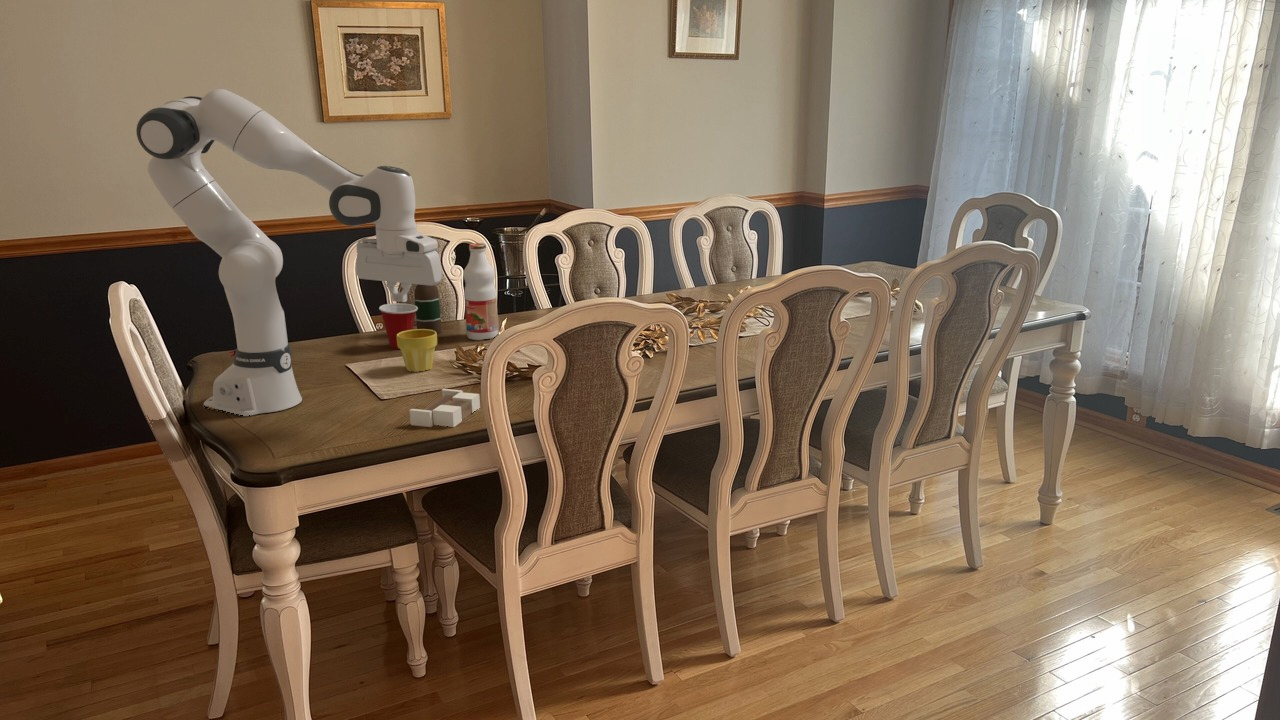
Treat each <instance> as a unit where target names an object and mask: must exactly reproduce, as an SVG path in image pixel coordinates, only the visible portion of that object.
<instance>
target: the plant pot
mask: <svg viewBox="0 0 1280 720" xmlns="http://www.w3.org/2000/svg"><path fill="white" fill-rule="evenodd" d="M397 345H398V348H400V349H399V350H400V352H401V355H402V359H403V362H404V366H405V369H406V370H407V371H408V372H411V371H414V372H413V373H420V372H419V371H423V372H426V371H425V370H428V369H430V370H432V368H433V362H434V355H435V348H436V346H438V334H437V333H436V331H434V330H429V329H417V328H415V329H414V328H413V330H407V331H403V332H400V333H398V334H397ZM428 371H429V370H428Z"/></svg>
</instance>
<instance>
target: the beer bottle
mask: <svg viewBox="0 0 1280 720" xmlns="http://www.w3.org/2000/svg"><path fill="white" fill-rule="evenodd" d="M414 305H415V306H417V307H418V309H417V311H416V313H415V320H416V321H415V322H416V329H429V330H434V331H436V333H437V335H440V334H441V333H442V320H441V319H442V318H441V310H440V309H441V308H440V307H441V305H440V296H439V289H438V286H437V284H436V285H432V286H430V285H420V284H415V289H414Z"/></svg>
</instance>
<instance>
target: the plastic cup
mask: <svg viewBox="0 0 1280 720" xmlns="http://www.w3.org/2000/svg"><path fill="white" fill-rule="evenodd" d="M417 309H418V307H417V306H415V304H409V303H404V302H399V303H396V302H395V303H386V304H382V305H380V306H379V308H378V310H379V311H380V313H381V316H382V320H383V325H384V327H385V331H386V336H387V338H388V342H389V346H390V347H391V349H394V350H401V349H400V348H398V345H397V334H398V333H400V332H403V331H407V330H413V329H414V323H415V319H416V311H417Z"/></svg>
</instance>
